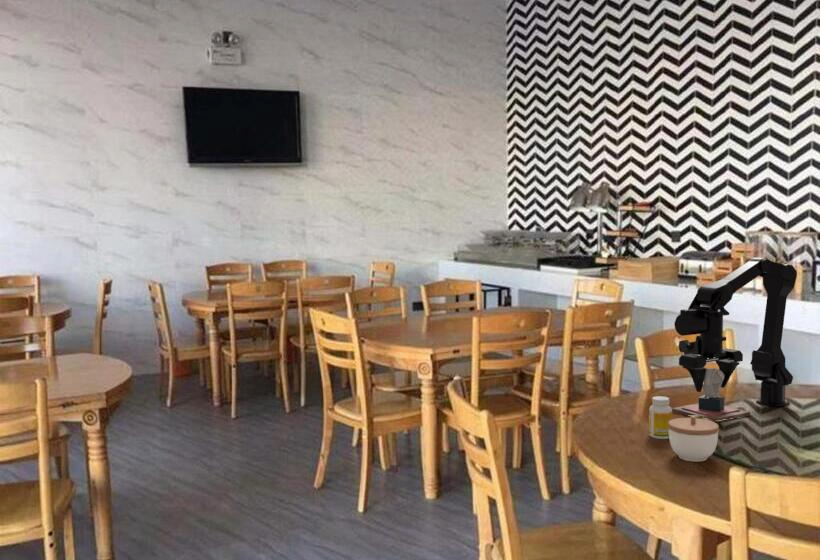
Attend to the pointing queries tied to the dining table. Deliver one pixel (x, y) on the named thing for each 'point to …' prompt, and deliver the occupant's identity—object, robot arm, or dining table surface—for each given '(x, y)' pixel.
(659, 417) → the supplement bottle
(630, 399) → the dining table surface
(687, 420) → the lidded jar
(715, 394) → the watch
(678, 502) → the dining table surface
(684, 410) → the pink square tray
